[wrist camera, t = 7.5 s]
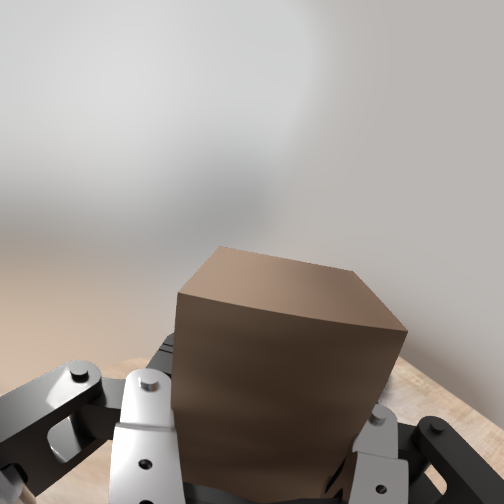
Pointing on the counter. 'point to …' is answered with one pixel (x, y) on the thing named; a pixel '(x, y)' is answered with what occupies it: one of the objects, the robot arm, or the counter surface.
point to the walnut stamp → (275, 372)
